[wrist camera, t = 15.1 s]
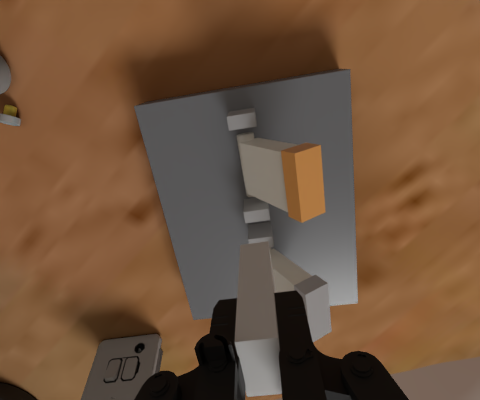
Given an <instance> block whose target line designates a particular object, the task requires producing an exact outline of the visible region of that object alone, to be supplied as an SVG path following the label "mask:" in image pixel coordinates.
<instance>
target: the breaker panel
mask: <svg viewBox="0 0 480 400" xmlns="http://www.w3.org/2000/svg"><path fill="white" fill-rule="evenodd" d="M134 108H135V112H136V115H137V119H138V123H139V126H140V130H141V133H142V137H143V140H144V144H145V148H146V151H147V155H148V158H149V162H150V166H151V169H152V173H153V176H154V180H155V183H156V187H157V191H158V194H159V198H160V201H161V205H162V209H163V212H164V216H165V219H166V223H167V226H168V230H169V234H170V237H171V241H172V244H173V248H174V252H175V255H176V259H177V262H178V266H179V269H180V273H181V277H182V280H183V284H184V287H185V291H186V295H187V298H188V302H189V305H190V309H191V312H192V316H193V320H197V319H206V318H212V314H213V308H214V307H215V305H216V304H217V302H218V301H219V300H223V299H232V298H237V292H238V275H239V259H240V245H244V244H252V243H259V242H267V241H268V242H269V248H270V247H271V249H273V248H274V249H275V250H277V251H278V252H279V253H281V254H282V255H284V256H285V257H286V258H288V259H289V260H291V261H292V262H293V263H295V264H296V265H298V266H299V267H300V268H302V269H303V270H305V271H306V272H307V273H309V274H310V275H312V276H314V275H317V276H318V277H320V278H321V279H323V280H324V281H325V282H327V283H328V292H329V305H330V306H334V305H344V304H354V303H358V292H357V262H356V232H355V202H354V172H353V142H352V112H351V82H350V69H335V70H329V71H323V72H317V73H311V74H306V75H300V76H294V77H288V78H282V79H277V80H271V81H265V82H259V83H253V84H248V85H242V86H236V87H230V88H224V89H218V90H213V91H207V92H201V93H195V94H189V95H184V96H178V97H172V98H166V99H160V100H155V101H149V102H145V103H142V104H139V105H136V106H134ZM247 132H253V133H254V139H255V138H263V139H269V140H274V141H280V142H286V143H291V144H297V145H300V144H303V143H312V144H318V145H321V155H322V169H323V183H324V197H325V213H323V214H321V215H318V216H316V217H314V218H312V219H309V220H307V221H305V222H303V223H301V222H299V221H297V220H295V219H293V218H290V217H289V216H288V212H286V211H284V210H282V209H280V208H277V207H275V206H273V205H271V204H269V203H267V202H264V201H262V200H260V199H258V198H256V197H248V196H247V195H246V189H245V183H244V177H243V172H242V166H241V160H240V154H239V148H238V142H237V135H238V134H241V133H247Z"/></svg>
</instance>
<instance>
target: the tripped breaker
mask: <svg viewBox="0 0 480 400" xmlns="http://www.w3.org/2000/svg"><path fill="white" fill-rule="evenodd" d="M237 142H238V148H239V154H240V160H241V166H242V172H243V177H244V183H245V189H246V195H247V196H248V197H256V198H258V199H260V200H262V201H264V202H267V203H269V204H271V205H273V206H275V207H277V208H280V209H282V210H284V211H286V212H288V216H289V217H290V218H293V219H295V220H297V221H299V222H301V223H303V222H305V221H307V220H309V219H312V218H314V217H316V216H318V215H321V214H323V213H325V197H324V183H323V169H322V155H321V145H318V144H312V143H303V144H300V145H297V144H291V143H286V142H280V141H274V140H269V139H263V138H255V139H254V133H253V132H247V133H241V134H238V135H237Z"/></svg>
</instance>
